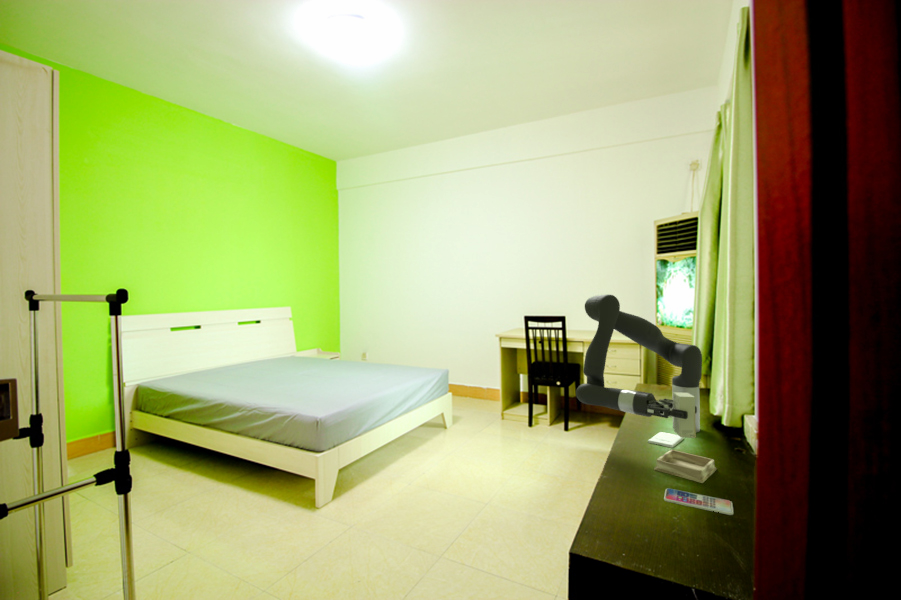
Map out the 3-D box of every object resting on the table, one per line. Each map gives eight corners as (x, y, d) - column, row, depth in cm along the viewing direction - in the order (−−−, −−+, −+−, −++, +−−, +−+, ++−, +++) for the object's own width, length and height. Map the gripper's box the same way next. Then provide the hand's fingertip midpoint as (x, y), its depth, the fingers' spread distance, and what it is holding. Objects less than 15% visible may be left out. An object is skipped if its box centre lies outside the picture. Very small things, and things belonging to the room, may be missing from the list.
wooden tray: (670, 458, 136) (670, 448, 136) (716, 469, 127) (716, 459, 126) (654, 469, 127) (654, 459, 127) (702, 483, 118) (702, 472, 118)
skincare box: (696, 438, 123) (696, 397, 123) (679, 437, 124) (679, 396, 124) (688, 431, 130) (688, 392, 129) (672, 430, 130) (672, 391, 130)
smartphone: (733, 513, 100) (663, 498, 108) (733, 517, 100) (663, 502, 108) (732, 500, 107) (665, 487, 114) (732, 504, 107) (665, 490, 114)
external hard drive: (683, 440, 154) (672, 449, 145) (659, 435, 160) (647, 444, 151) (683, 436, 154) (672, 444, 145) (659, 431, 160) (647, 439, 151)
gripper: (626, 394, 132) (683, 404, 120) (645, 387, 142) (700, 395, 130) (626, 418, 132) (683, 430, 120) (645, 409, 142) (700, 420, 130)
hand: (692, 412), depth 125 cm, fingers closed on skincare box, 7 cm apart
